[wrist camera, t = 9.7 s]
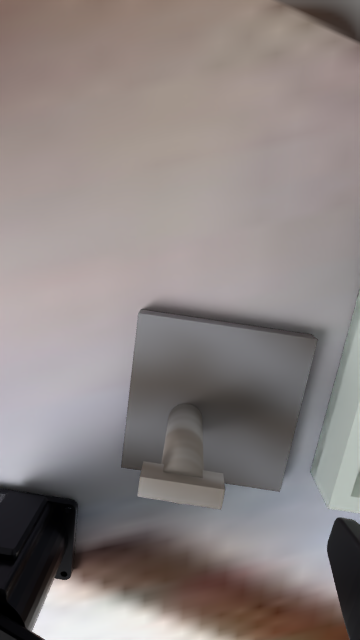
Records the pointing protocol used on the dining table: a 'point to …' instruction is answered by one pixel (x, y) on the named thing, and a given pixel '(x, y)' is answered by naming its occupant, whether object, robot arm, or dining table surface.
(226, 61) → the dining table surface
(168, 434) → the stand
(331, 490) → the tray
